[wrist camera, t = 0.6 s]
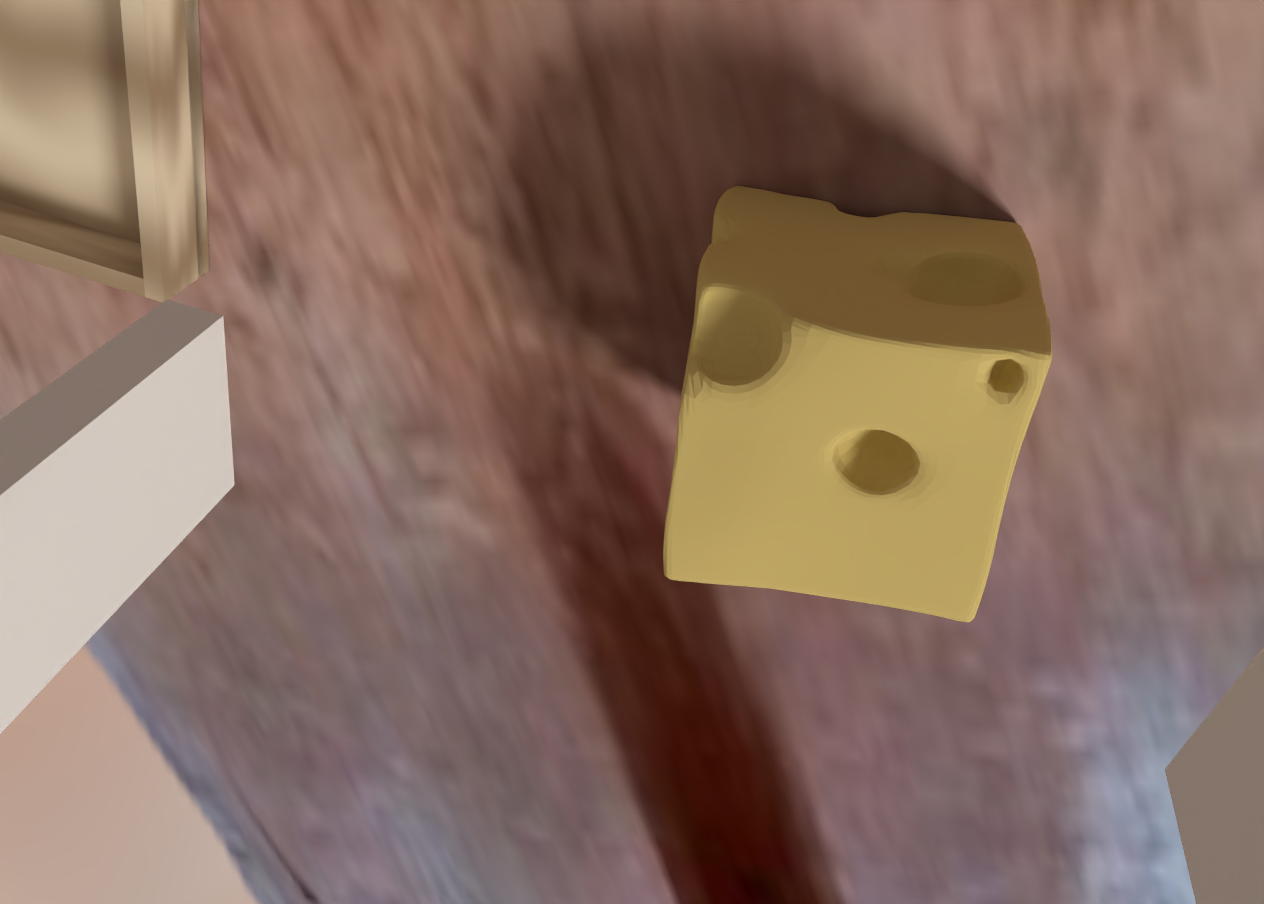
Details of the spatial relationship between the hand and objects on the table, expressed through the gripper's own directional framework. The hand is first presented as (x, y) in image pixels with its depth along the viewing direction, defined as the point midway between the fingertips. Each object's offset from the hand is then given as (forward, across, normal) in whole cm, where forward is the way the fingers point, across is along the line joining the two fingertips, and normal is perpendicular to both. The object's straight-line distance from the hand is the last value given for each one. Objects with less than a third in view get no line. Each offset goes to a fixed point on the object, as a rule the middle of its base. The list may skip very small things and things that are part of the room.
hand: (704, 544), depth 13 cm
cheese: (+25, +3, -9) cm, 27 cm away
